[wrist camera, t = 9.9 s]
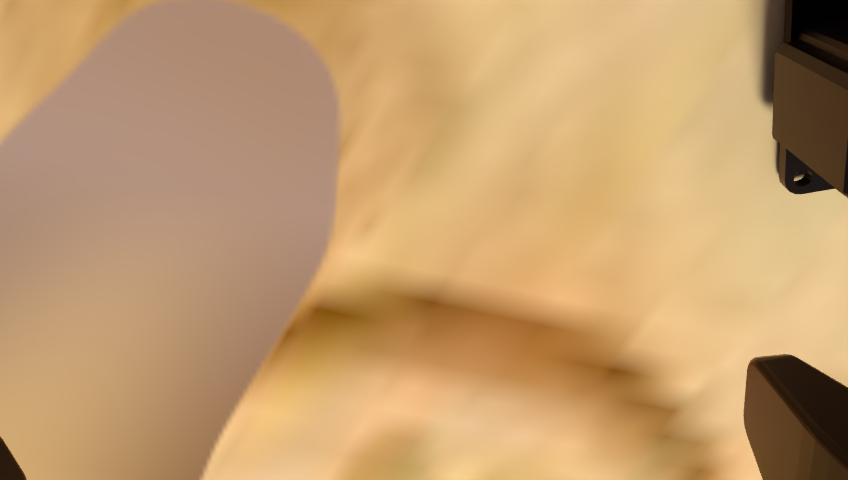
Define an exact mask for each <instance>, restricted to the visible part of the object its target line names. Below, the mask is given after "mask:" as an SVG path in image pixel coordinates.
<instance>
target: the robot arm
mask: <svg viewBox="0 0 848 480" xmlns="http://www.w3.org/2000/svg"><path fill="white" fill-rule="evenodd" d="M772 135H773V138H774V139H775V140H776V141H778V142H779V143H780V160H779V179H780V182H781V184H782V185H783V186H784V187H785V188H786V189H787V190H788V191H789V192H792V193H794V194H805V193H811V192H817V191H823V190H829V189H835V188H836V189H837V190H838V191H839V192H841V193H842V194H843V195H845V196H846V197H847V198H848V0H785V26H784V43H782V44H781V46H780V47H779V49H778V50H777V51H776V53H775V65H774V97H773V130H772ZM803 170H806V173H805V176H804V177H803V178H802V179H800V180H798V181H794V177H795V175H796V174H797V173H798V172H800V171H803ZM744 424H745V429H746V433H747V436H748V439H749V442H750V445H751V448H752V451H753V453H754V456H755V459H756V462H757V464H758V467H759V470H760V473H761V476H762V478H763V480H848V387H846V386H845V385H843V384H841V383H839V382H838V381H836V380H834V379H833V378H831V377H829V376H828V375H826V374H824V373H822V372H821V371H819V370H817V369H816V368H814V367H812V366H811V365H809V364H807V363H806V362H804V361H802V360H800V359H799V358H797V357H795V356H792V355H786V354H783V355H773V356H763V357H756V358H754V359H752V360H751V361H750V363H749V365H748V369H747V379H746V391H745V403H744ZM0 480H26V477H25V475H24V473H23V471H22V469H21V468H20V466H19V465H18V463H17V462H16V460H15V458H14V457H13V455H12V454H11V452H10V450H9V449H8V447H7V446H6V444H5V442H4V441H3V439H2V438H1V437H0Z"/></svg>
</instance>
